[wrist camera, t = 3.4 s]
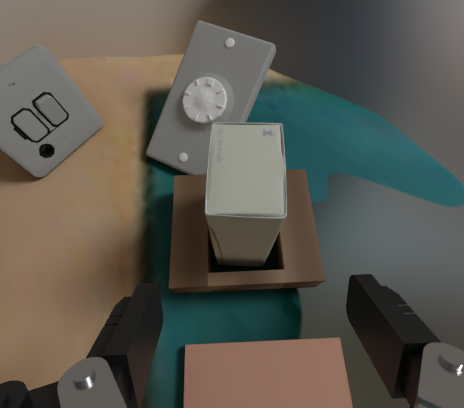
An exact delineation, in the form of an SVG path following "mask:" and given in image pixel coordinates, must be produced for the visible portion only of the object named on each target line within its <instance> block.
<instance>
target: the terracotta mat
mask: <svg viewBox="0 0 464 408" xmlns="http://www.w3.org/2000/svg"><path fill="white" fill-rule="evenodd" d="M184 408H353V407H352V402H351V396H350V390H349V385H348V380H347V375H346V369H345V363H344V358H343V353H342V348H341V342H340V338H319V339H298V340H276V341H255V342H233V343H212V344H190V345H185V375H184Z"/></svg>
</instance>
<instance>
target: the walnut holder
mask: <svg viewBox="0 0 464 408" xmlns="http://www.w3.org/2000/svg"><path fill="white" fill-rule="evenodd" d="M206 181H207V174H200V175H179V176H175V178H174V197H173V216H172V236H171V255H170V274H169V289H171V290H172V291H174V292H175V293H197V292H218V291H239V290H260V289H282V288H302V287H316V286H318V285H319V284H321V283H322V282H324V281H325V276H324V271H323V265H322V260H321V254H320V249H319V243H318V237H317V232H316V227H315V221H314V215H313V210H312V204H311V198H310V193H309V187H308V182H307V176H306V171H305V169H304V170H286V192H287V216H286V218H285V220H284V223H283V225H282V227H281V229H280V231H279V233H278V235H277V238H276V240H275V241H276V250H277V259H278V268H279V270H262V271H240V272H219V273H211V236H210V232H209V228H208V223H207V220H206V215H205V198H206Z"/></svg>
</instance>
